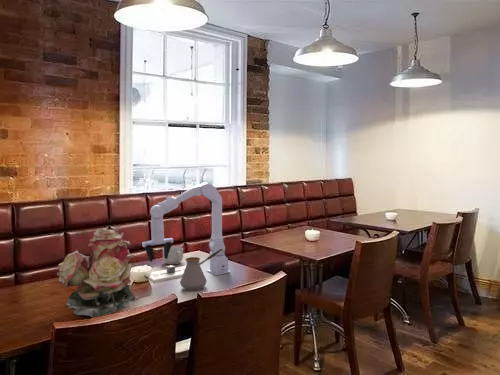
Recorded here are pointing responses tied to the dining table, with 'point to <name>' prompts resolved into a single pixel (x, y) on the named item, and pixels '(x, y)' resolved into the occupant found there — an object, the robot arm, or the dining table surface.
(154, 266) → the dining table surface
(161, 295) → the dining table surface
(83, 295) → the rose bouquet
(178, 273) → the plate
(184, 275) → the coffee pot
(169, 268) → the breaker handle
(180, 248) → the teacup
